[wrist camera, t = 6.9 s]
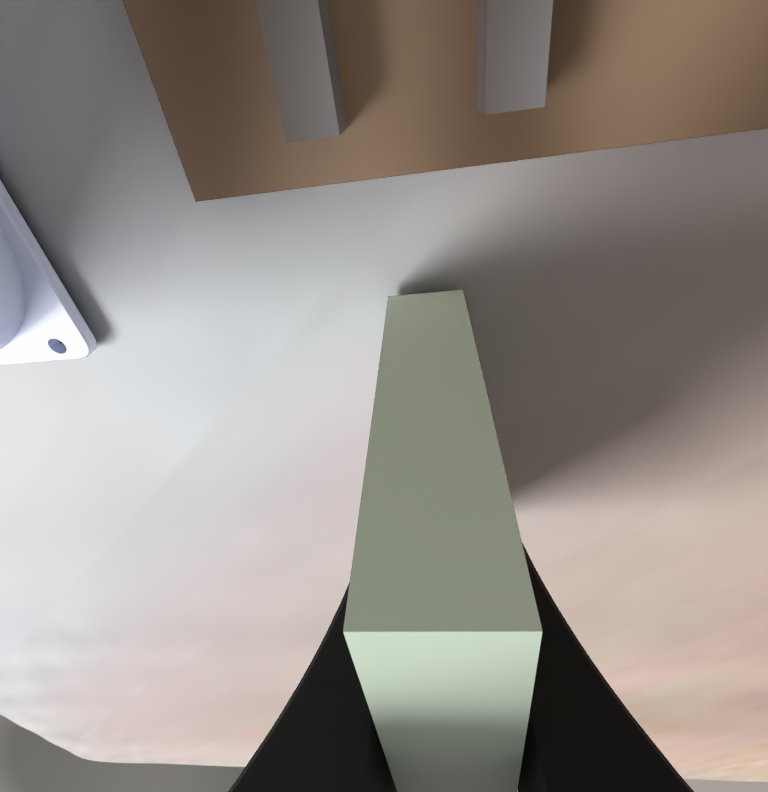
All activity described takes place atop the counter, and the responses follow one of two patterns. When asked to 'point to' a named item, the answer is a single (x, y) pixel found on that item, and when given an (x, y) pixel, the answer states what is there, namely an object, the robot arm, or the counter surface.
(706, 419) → the counter surface
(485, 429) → the sage green block
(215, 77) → the rack
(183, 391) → the counter surface
